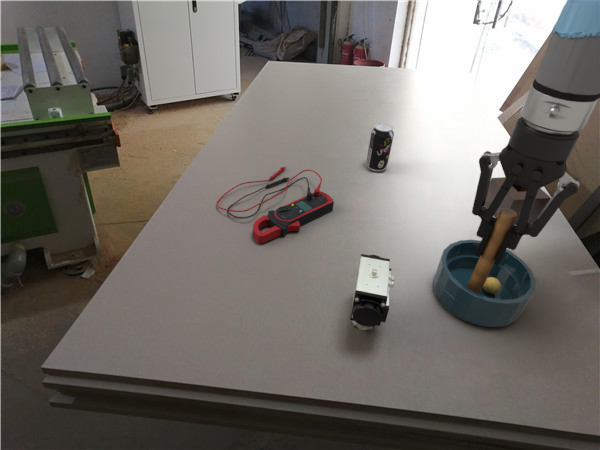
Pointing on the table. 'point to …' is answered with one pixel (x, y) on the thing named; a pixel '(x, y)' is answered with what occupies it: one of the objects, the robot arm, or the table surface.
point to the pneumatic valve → (371, 292)
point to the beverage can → (379, 147)
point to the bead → (492, 285)
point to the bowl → (483, 306)
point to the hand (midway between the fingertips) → (488, 255)
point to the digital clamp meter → (287, 210)
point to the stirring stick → (491, 249)
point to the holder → (516, 199)
